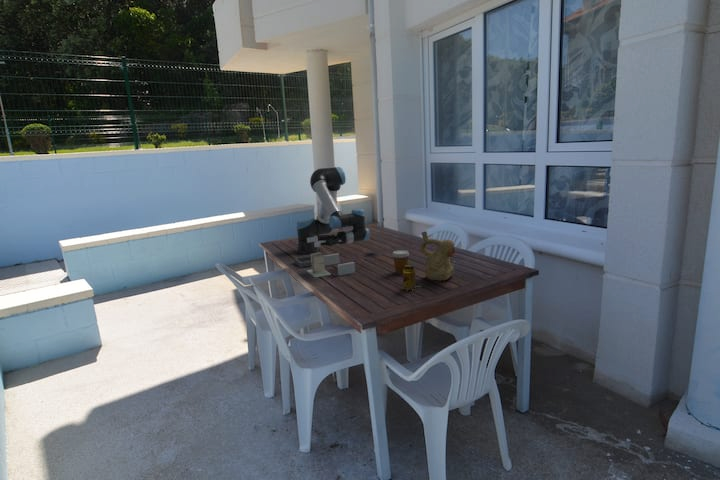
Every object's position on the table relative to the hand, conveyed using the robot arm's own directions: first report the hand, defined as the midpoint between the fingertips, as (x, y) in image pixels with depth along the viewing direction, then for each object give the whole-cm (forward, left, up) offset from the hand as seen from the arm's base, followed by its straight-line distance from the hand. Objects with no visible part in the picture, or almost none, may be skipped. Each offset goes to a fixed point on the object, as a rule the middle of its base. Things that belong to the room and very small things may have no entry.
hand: (310, 242), depth 246 cm
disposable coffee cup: (+28, +43, -19) cm, 55 cm away
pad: (0, +3, -19) cm, 19 cm away
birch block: (0, +3, -18) cm, 19 cm away
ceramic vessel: (+47, +55, -19) cm, 75 cm away
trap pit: (-22, +4, -19) cm, 29 cm away
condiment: (+53, +34, -19) cm, 66 cm away
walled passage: (0, +16, -19) cm, 25 cm away
